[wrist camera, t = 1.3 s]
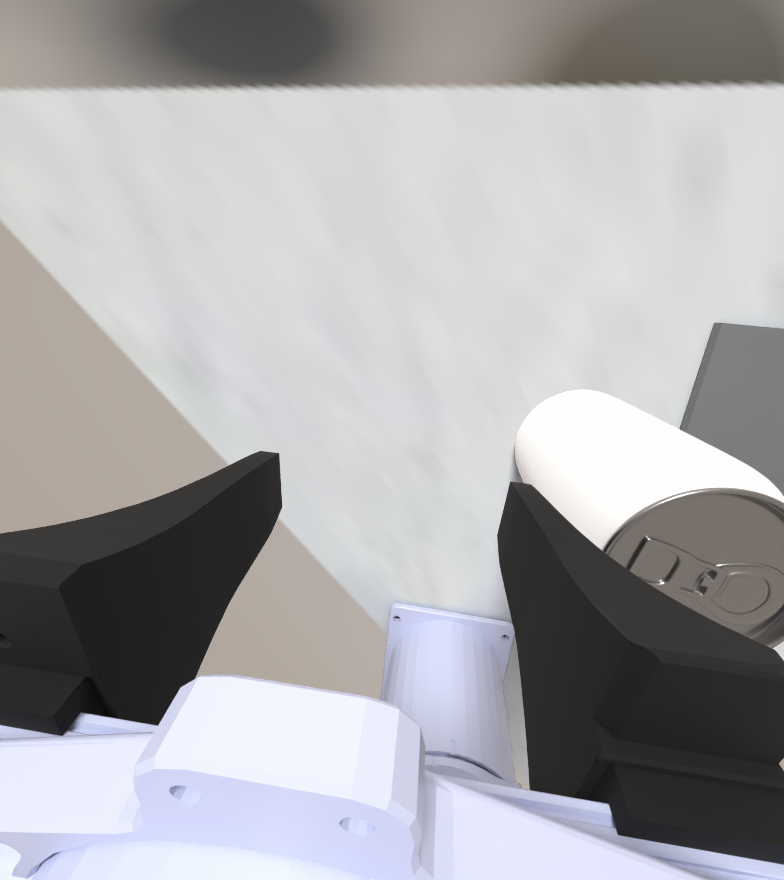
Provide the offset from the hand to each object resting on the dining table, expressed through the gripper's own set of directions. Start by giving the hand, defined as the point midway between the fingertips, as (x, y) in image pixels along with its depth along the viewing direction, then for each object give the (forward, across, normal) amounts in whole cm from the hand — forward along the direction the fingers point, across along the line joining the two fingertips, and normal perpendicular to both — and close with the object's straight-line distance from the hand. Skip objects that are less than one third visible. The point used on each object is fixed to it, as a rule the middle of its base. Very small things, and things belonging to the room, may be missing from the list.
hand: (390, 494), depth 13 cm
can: (+10, -9, +2) cm, 14 cm away
